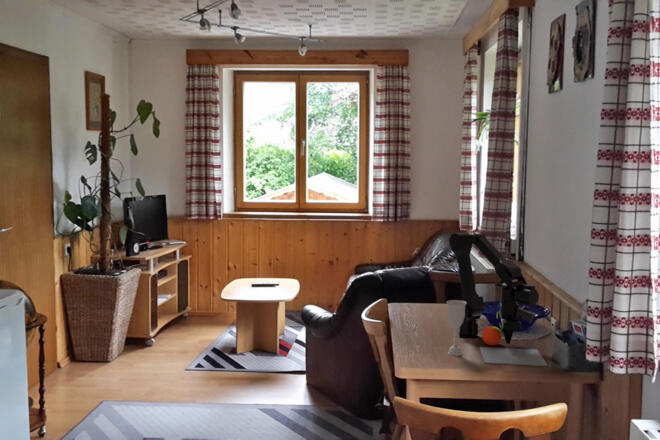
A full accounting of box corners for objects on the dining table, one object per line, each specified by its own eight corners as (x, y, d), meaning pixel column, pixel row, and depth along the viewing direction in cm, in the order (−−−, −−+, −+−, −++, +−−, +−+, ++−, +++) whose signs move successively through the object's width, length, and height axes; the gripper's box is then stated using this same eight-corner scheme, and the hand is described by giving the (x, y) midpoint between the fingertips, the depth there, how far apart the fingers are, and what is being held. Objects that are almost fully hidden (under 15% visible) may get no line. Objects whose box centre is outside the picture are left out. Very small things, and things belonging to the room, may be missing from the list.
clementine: (507, 345, 233) (508, 326, 233) (497, 349, 229) (498, 329, 228) (488, 341, 239) (488, 322, 238) (478, 344, 234) (478, 325, 234)
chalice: (460, 357, 218) (462, 305, 217) (441, 354, 222) (443, 302, 220) (468, 352, 225) (469, 301, 223) (449, 349, 228) (451, 299, 227)
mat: (484, 363, 212) (484, 362, 212) (479, 348, 230) (479, 347, 230) (547, 366, 210) (547, 365, 210) (537, 350, 227) (537, 349, 227)
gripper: (537, 306, 219) (536, 351, 220) (527, 296, 237) (526, 337, 238) (504, 305, 220) (502, 350, 221) (496, 295, 239) (495, 336, 240)
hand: (508, 343), depth 230 cm, fingers closed
